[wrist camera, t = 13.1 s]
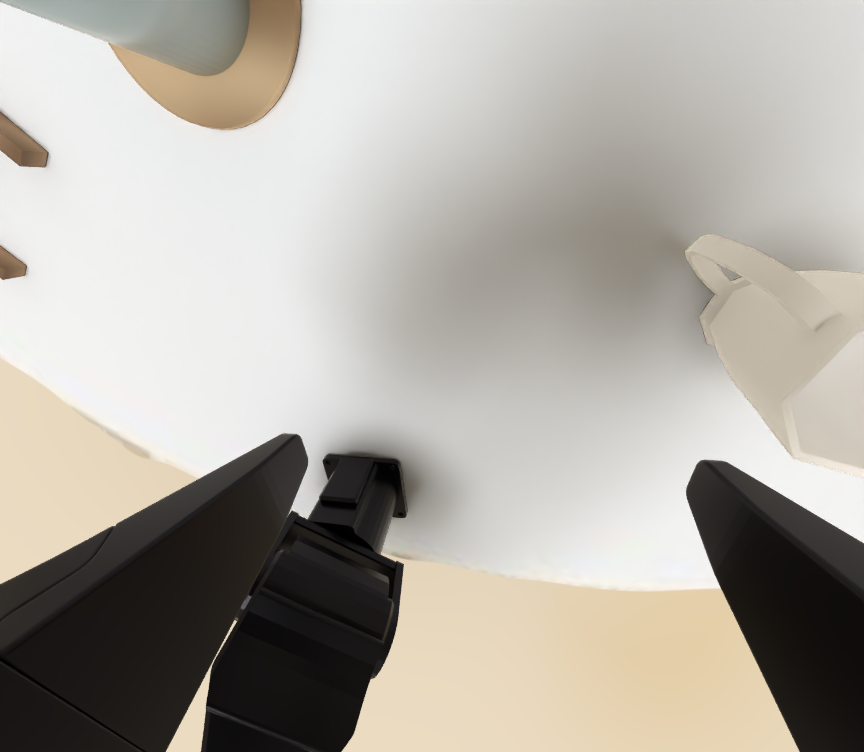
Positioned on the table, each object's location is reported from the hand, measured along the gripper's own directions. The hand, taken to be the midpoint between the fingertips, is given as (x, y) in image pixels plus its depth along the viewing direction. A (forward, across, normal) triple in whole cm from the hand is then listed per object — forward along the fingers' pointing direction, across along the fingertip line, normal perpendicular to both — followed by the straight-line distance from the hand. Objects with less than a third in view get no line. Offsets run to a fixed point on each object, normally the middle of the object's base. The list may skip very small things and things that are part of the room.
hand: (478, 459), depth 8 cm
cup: (+13, -12, 0) cm, 18 cm away
